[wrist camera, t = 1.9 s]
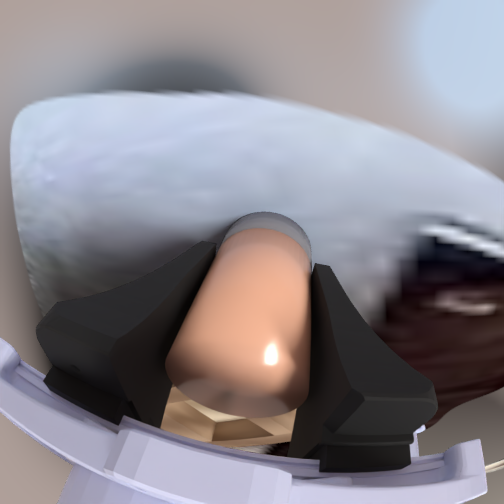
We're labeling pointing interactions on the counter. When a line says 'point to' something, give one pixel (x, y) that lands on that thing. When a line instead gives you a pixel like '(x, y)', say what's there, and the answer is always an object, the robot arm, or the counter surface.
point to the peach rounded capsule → (250, 323)
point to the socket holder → (223, 424)
